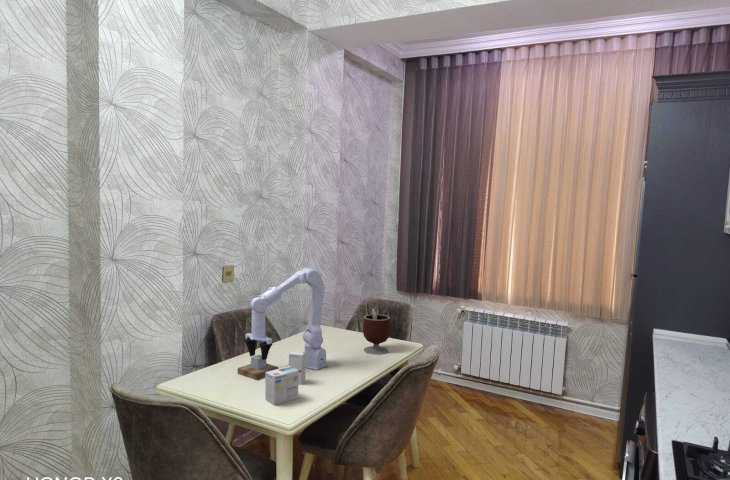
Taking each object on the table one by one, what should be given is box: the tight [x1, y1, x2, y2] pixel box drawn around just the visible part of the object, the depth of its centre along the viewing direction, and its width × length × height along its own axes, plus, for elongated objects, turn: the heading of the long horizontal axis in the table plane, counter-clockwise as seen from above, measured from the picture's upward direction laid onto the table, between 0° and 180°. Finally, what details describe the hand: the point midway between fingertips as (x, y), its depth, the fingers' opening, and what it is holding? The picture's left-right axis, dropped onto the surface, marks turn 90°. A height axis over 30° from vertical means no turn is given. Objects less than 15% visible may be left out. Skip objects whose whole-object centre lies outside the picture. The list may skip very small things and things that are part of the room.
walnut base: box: [237, 362, 279, 381], centre depth 202 cm, size 12×12×3 cm
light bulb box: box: [264, 365, 299, 406], centre depth 175 cm, size 11×7×11 cm, turn 133°
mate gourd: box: [362, 307, 391, 356], centre depth 239 cm, size 16×14×20 cm
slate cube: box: [250, 354, 267, 370], centre depth 202 cm, size 4×4×4 cm
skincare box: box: [288, 350, 307, 385], centre depth 193 cm, size 6×4×12 cm
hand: (258, 357), depth 202 cm, fingers open, 7 cm apart
